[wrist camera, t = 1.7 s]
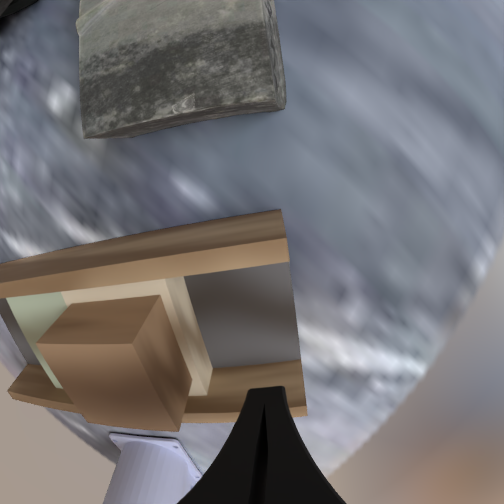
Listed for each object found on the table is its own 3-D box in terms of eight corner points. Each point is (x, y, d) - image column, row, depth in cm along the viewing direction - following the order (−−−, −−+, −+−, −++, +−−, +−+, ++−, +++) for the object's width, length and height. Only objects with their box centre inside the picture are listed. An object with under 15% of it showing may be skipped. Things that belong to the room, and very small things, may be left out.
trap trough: (301, 365, 20) (307, 415, 16) (34, 369, 23) (12, 398, 19) (281, 209, 16) (286, 237, 12) (-16, 268, 19) (-49, 291, 15)
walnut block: (192, 379, 17) (178, 431, 13) (110, 379, 18) (87, 422, 14) (160, 294, 15) (132, 343, 11) (71, 303, 16) (35, 343, 12)
